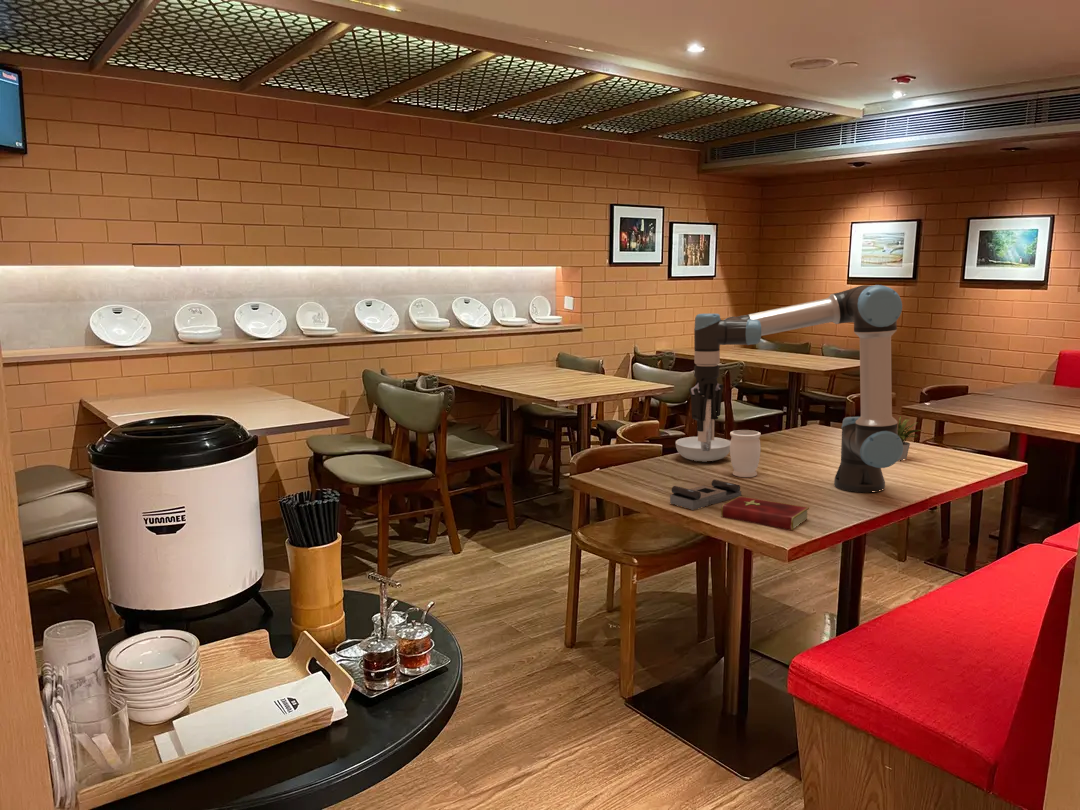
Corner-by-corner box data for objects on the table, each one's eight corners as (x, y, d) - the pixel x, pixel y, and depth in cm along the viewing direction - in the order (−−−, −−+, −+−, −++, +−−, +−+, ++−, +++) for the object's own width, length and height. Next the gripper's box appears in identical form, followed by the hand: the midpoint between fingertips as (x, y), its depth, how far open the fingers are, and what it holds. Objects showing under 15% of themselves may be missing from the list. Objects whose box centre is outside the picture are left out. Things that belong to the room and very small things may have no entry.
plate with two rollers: (741, 495, 240) (742, 479, 240) (693, 510, 226) (693, 493, 226) (717, 490, 248) (718, 473, 247) (669, 504, 234) (669, 486, 233)
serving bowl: (664, 459, 292) (664, 442, 291) (698, 451, 305) (698, 434, 304) (708, 468, 276) (708, 450, 275) (742, 459, 289) (743, 441, 288)
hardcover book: (792, 532, 207) (792, 517, 206) (721, 518, 220) (721, 504, 219) (808, 520, 216) (809, 506, 215) (739, 508, 229) (739, 494, 228)
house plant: (889, 465, 274) (891, 420, 272) (867, 456, 288) (869, 414, 285) (925, 463, 276) (928, 418, 273) (903, 454, 289) (905, 412, 287)
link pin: (712, 450, 235) (713, 398, 233) (706, 451, 234) (706, 400, 231) (705, 448, 238) (705, 397, 235) (698, 450, 236) (699, 398, 233)
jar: (761, 478, 260) (762, 435, 258) (730, 478, 262) (730, 435, 260) (758, 471, 270) (759, 429, 268) (728, 470, 273) (729, 429, 270)
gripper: (714, 361, 239) (713, 435, 243) (679, 366, 230) (679, 442, 233) (733, 363, 233) (732, 438, 237) (698, 367, 224) (697, 446, 227)
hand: (705, 440), depth 235 cm, fingers closed on link pin, 3 cm apart
